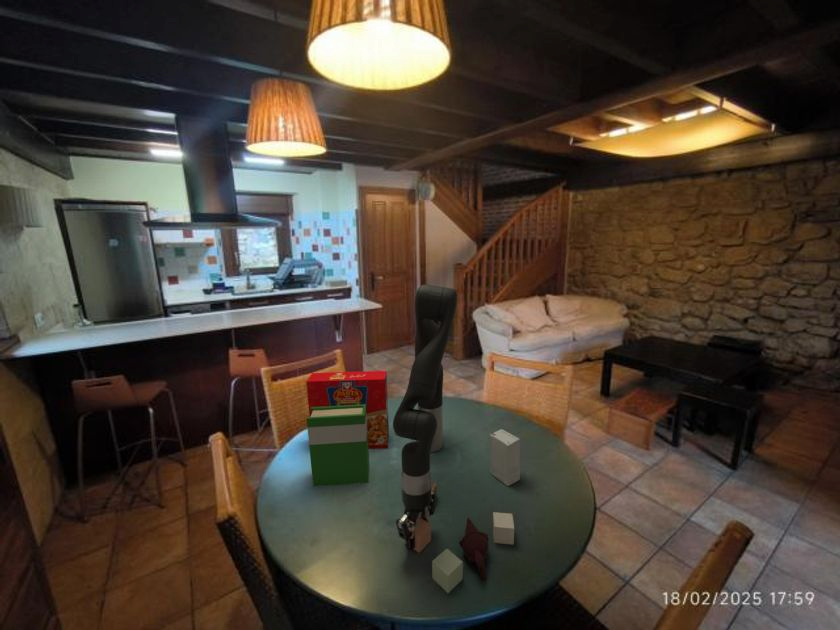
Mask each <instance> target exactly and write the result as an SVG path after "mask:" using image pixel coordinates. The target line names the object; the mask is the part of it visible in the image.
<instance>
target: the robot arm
mask: <svg viewBox="0 0 840 630" xmlns="http://www.w3.org/2000/svg"><path fill="white" fill-rule="evenodd" d="M414 297H415V298H414V317H415V318H414V319H415V335H414V360H413V363H412V366H411V369H410V375H409V378H408V384H407V389H406V391H405V394H404V396H403V398H402V400H401V402H400V405H399V407H398V408H397V411H396V412H395V415H394V417H393V422H392V429H393V431H394V434H395V435H396V436H398V438H399V437H400V438H403V439H408V440H412V441H410V442H407V443H406V444H405V445H403V447H402V449H401V478H400V480H401V499H402V503H403V505H404V511H403V516H402V517H401V518H399V517H398V518H397V519H396V520H395V521H396V522H395V524H396V529H397V532H398V537H399V538H401V539H403V541H404V540H405V541H406V544H405V546H406V547H407V548H409V549H411V550H414V548H415V536H414V534H415V529H417V528H418V523H419V520H420V518H421V519H423V520H425V521H427V522H428V523H430V520H431V516H433V515H434V514H435V508H436V501H437V498H436V494H435V493H433V492H431V482H432V471H431V453H434V452H438V451H440V450H441V449H443V446H444V439H443V438H444V434H443V433H444V427H443V426H444V424H443V423H444V418H443V417H444V415H443V406H444V405H443V399H444V398H443V387H444V367H443V364H442V361H443V358H444V355H445V351H446V348H447V344H448V342H449V337H450V334H451V330H452V326H453V323H454V319H455V315H456V311H457V305H458V292H457V290H456V289H454V288H451V287H445V286H440V285H433V284H422V285H420V286H419V287H418V288H417V291H416V293H415V296H414ZM436 322H440V325H438V324H437V323H436ZM416 405H417V408H415V407H416ZM429 506H431V509H430V508H429ZM410 521H411V522H410ZM412 522H413V523H414V524H413V523H412ZM409 528H411V532H410V531H409Z"/></svg>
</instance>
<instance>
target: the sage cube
mask: <svg viewBox="0 0 840 630" xmlns="http://www.w3.org/2000/svg"><path fill="white" fill-rule="evenodd" d="M431 567H432V569H431V570H432V571H431V572H432V580H434V581H435V582H436V583H437V585H439V586H440V587H441V588H442V589H443V590H444V592H446V593H447V594H449V593H450V592H451V591H452V590H453V589H454V588H455V587H456V586H457V585H458V584H460V582H461V581H463V577H464V576H463V575H464V574H463V573H464V572H463V570H464V568H463V567H464V562H463V561H462V560H461V559H460V558H459V557H458V556H456V555H455V553H453V552H452V551H451V550H449V548H446V549H444V551H442V552H441V553H440V554H438V555H437V556H436V557H435V558H434V559H433V560H431Z"/></svg>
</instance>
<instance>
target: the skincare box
mask: <svg viewBox="0 0 840 630" xmlns="http://www.w3.org/2000/svg"><path fill="white" fill-rule="evenodd" d="M520 441H521V440H520V438H519V437H517V436H516V435H514V434H511V433H510V432H508V431H506V430H504V429H502V428H501V429H499V430H496V431H495V432H492V433H491V434H489V455H490V456H489V461H490V462H489V463H490V464H489V467H490V474H491V475H492V476H493V477H495V478H496V479H497V480H499V481H500V482H502V484H504V485H505V486H507V487H509V486H510V485H513V484H515V483H517V482H519V481H520V479H521V452H520V451H521V448H520V447H521V444H520V443H521V442H520Z"/></svg>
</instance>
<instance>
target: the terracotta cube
mask: <svg viewBox="0 0 840 630" xmlns="http://www.w3.org/2000/svg"><path fill="white" fill-rule="evenodd" d="M410 522H411V521H410ZM412 523H413V522H412ZM413 524H414V523H413ZM409 531H410V532H411V528H409ZM414 536H415V548H414V549H413V550H414V551H416V552H417V553H419V554H420V553H421V552H422V551H423V550H424V549H425V547H426V546H427V545H428V544H429V543H430V542H431V540H432V523H430V522H429V523H428V522H427V521H425V520H423V519H421V518H420V520H419V523H418V528H417V529H415V534H414ZM403 541H404V544H405V545H406V541H405V540H404V539H403Z"/></svg>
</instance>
